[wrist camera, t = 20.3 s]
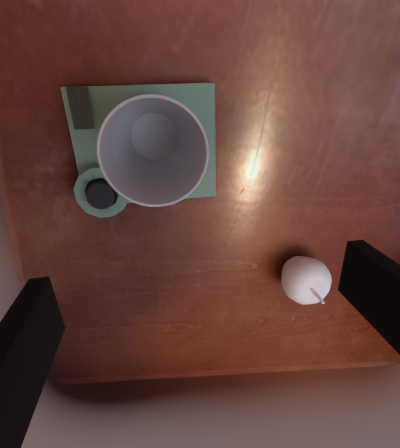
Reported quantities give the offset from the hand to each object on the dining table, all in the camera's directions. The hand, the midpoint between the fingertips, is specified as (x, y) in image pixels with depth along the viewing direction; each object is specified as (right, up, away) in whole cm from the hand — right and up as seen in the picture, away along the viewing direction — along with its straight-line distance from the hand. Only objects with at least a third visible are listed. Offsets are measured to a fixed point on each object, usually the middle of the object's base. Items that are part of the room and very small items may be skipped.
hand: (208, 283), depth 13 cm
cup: (-5, +12, +17) cm, 22 cm away
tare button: (-12, +6, +20) cm, 24 cm away
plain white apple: (+15, -4, +33) cm, 36 cm away
